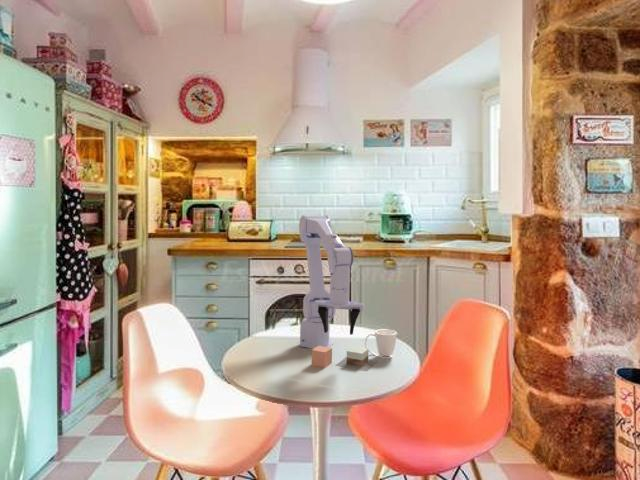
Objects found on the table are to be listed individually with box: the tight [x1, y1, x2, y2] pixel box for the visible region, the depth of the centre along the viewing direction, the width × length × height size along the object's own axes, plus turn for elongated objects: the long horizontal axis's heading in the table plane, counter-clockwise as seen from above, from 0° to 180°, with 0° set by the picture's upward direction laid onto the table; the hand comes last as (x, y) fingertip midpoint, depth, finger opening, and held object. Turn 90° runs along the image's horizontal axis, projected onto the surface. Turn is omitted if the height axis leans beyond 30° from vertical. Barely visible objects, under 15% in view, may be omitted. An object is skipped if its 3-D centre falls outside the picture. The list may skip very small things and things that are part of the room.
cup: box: [364, 328, 398, 359], centre depth 150 cm, size 7×10×8 cm
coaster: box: [335, 356, 379, 372], centre depth 143 cm, size 10×10×1 cm
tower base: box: [346, 355, 369, 367], centre depth 143 cm, size 5×5×2 cm
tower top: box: [346, 346, 369, 360], centre depth 143 cm, size 5×5×2 cm
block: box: [311, 346, 333, 368], centre depth 141 cm, size 4×4×5 cm
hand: (338, 332), depth 142 cm, fingers open, 7 cm apart
